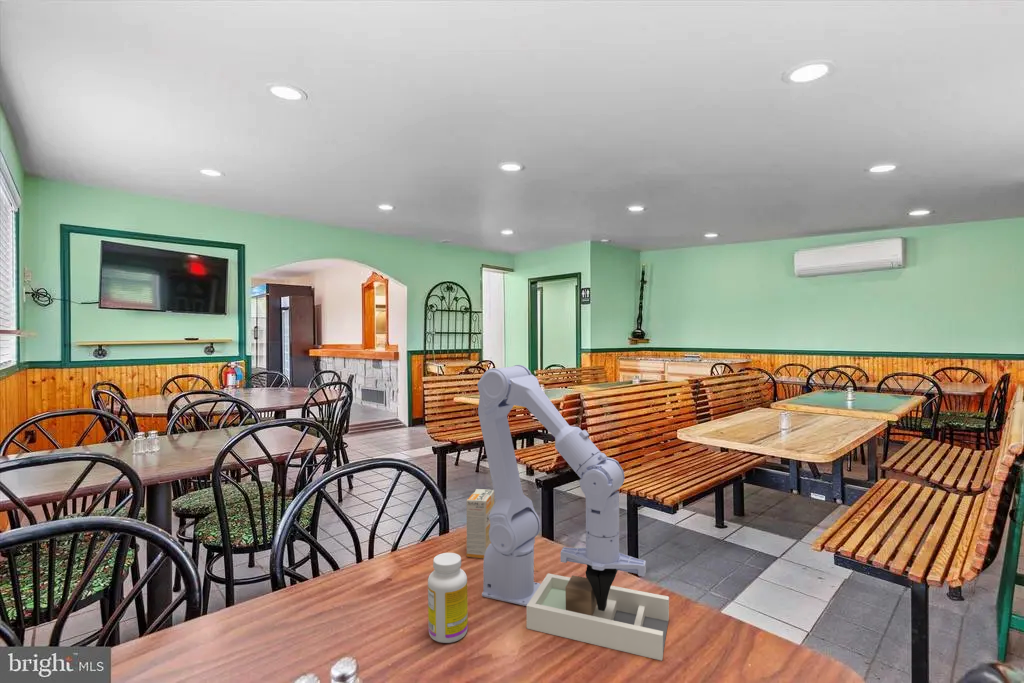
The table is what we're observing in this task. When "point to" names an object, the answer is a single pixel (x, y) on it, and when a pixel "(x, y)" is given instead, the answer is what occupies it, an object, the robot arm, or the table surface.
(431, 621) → the supplement bottle
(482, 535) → the supplement box
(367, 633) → the table surface
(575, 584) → the walnut block
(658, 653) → the track
